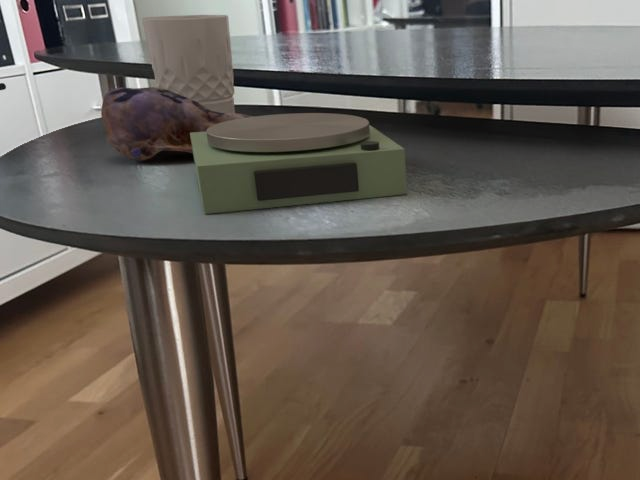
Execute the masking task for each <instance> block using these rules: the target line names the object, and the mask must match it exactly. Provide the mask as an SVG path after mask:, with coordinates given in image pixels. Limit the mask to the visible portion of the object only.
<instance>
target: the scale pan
mask: <svg viewBox="0 0 640 480" xmlns="http://www.w3.org/2000/svg"><path fill="white" fill-rule="evenodd" d="M369 125H370V121H369V120H368V119H367V118H364V117H361V116H357V115H352V114H344V113H330V112H329V113H328V112H326V113H325V112H299V113H297V112H296V113H277V114H265V115H257V116H252V117H247V118H241V119H235V120H230V121H225V122H221V123H218V124H215V125H213V126H211V127H209V128H208V129H207V130H206V133H207V140H208V143H209V145H211V146H213V147H216V148H220V149H224V150H231V151H243V152H289V151H304V150H314V149H322V148H329V147H336V146H341V145H346V144H350V143H354V142H357V141H360V140H363V139H365V138H366V137H368V136H369V134H370V129H369Z"/></svg>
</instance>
